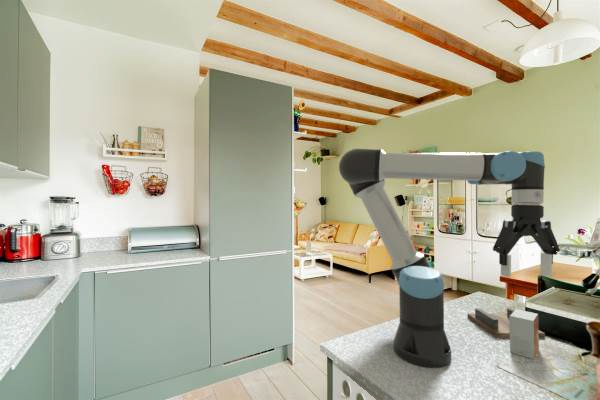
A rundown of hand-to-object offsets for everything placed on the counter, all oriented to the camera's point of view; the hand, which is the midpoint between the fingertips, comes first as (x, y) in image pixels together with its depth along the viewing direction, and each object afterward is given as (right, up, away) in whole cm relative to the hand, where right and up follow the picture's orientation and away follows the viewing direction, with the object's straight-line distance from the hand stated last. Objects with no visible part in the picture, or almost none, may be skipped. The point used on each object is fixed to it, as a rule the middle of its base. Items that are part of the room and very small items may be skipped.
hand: (525, 276), depth 85 cm
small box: (-2, -21, -2) cm, 22 cm away
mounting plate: (+3, -21, +14) cm, 25 cm away
